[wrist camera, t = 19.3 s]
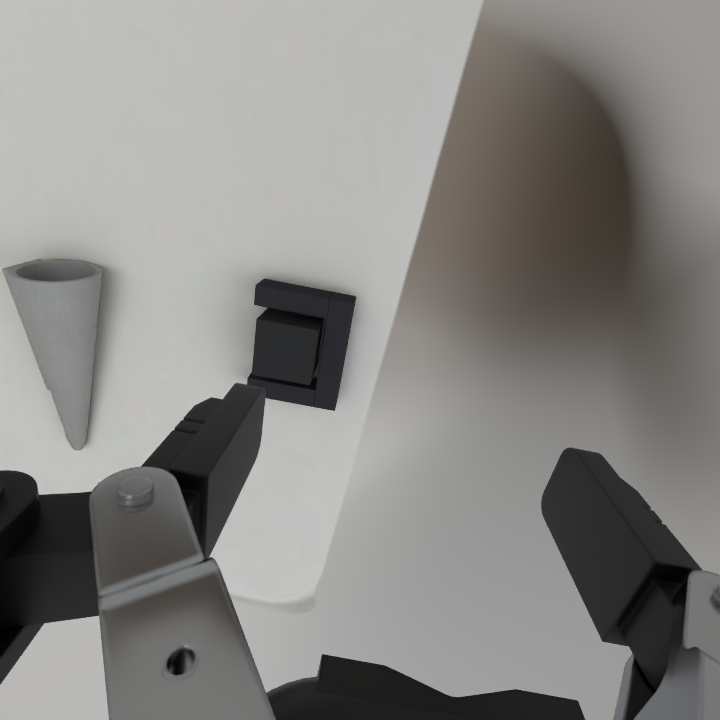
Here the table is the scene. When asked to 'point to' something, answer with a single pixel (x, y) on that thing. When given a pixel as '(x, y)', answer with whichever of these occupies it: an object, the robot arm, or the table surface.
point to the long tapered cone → (61, 331)
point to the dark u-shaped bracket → (334, 342)
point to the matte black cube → (287, 346)
